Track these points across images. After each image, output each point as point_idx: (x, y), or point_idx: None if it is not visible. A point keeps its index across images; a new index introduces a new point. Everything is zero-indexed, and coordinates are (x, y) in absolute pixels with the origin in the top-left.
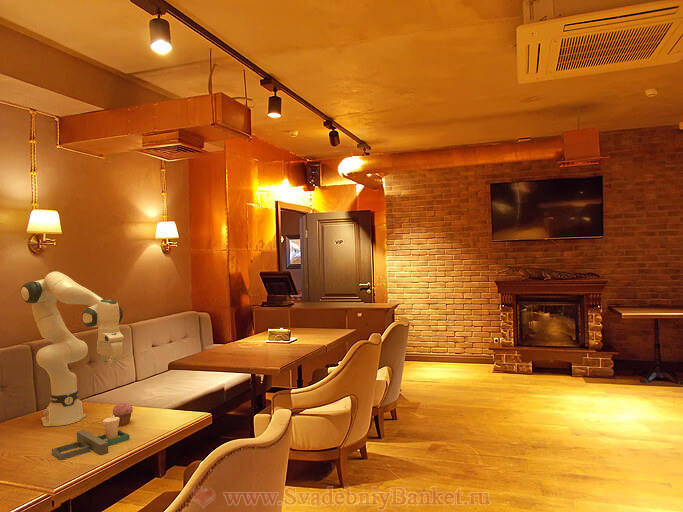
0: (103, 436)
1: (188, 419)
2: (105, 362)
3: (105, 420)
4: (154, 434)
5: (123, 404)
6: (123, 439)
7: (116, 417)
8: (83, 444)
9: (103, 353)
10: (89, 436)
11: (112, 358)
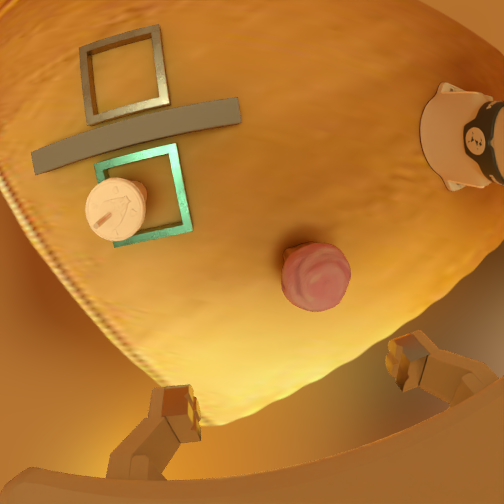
0: (173, 175)
1: (195, 396)
2: (400, 363)
3: (113, 187)
4: (120, 308)
5: (313, 290)
6: None
7: (127, 232)
8: (122, 107)
9: (408, 456)
10: (136, 126)
11: (110, 477)
